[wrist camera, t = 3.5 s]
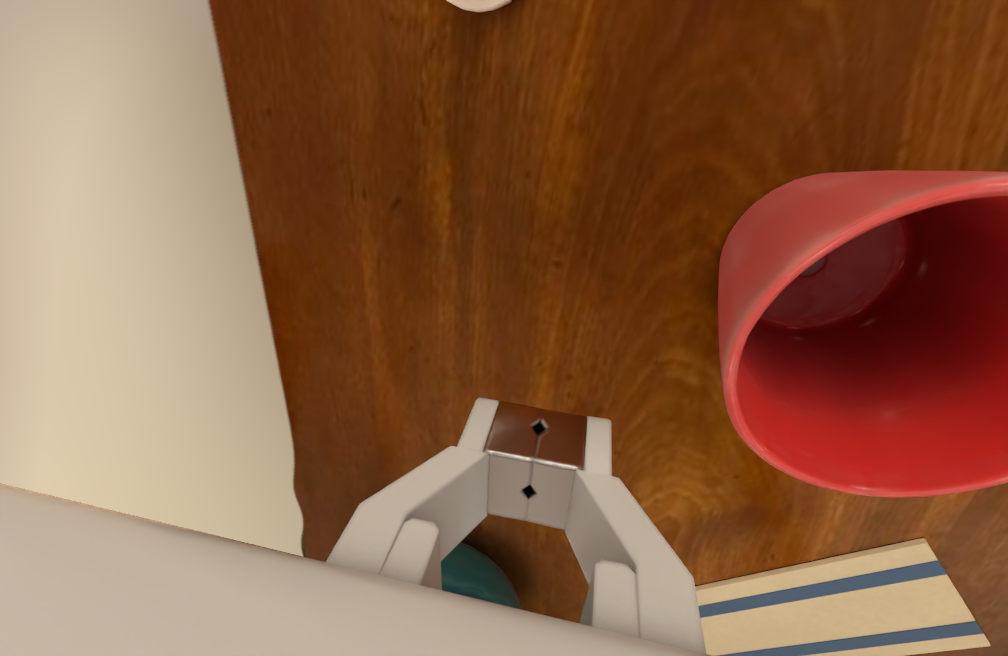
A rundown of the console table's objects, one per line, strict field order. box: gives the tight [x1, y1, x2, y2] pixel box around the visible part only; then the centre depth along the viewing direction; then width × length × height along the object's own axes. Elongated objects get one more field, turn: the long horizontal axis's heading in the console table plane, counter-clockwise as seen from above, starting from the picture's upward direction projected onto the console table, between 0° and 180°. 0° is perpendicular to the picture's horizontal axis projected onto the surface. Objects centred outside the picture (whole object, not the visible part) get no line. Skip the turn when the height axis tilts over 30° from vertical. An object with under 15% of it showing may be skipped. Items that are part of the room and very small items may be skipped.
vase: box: [441, 542, 522, 610], centre depth 34 cm, size 15×15×13 cm
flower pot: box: [718, 170, 1008, 497], centre depth 17 cm, size 11×11×10 cm
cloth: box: [695, 538, 991, 656], centre depth 34 cm, size 20×12×1 cm, turn 130°
